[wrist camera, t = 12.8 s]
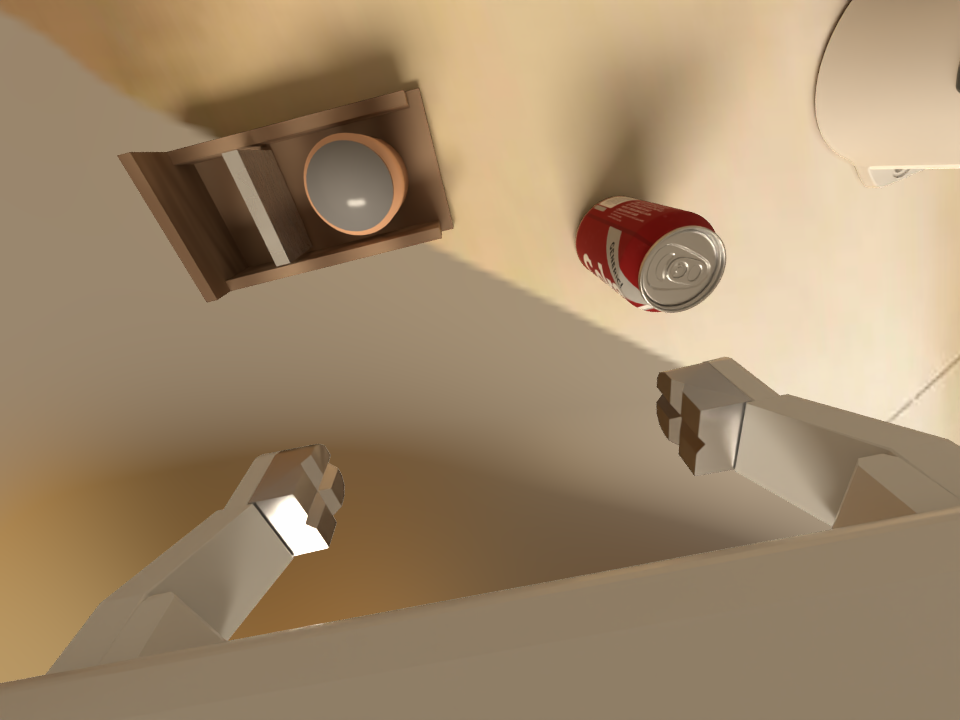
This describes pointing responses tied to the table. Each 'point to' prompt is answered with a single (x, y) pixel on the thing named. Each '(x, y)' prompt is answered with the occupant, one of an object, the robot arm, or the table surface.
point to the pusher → (269, 203)
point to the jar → (355, 182)
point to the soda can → (651, 253)
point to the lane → (229, 224)
